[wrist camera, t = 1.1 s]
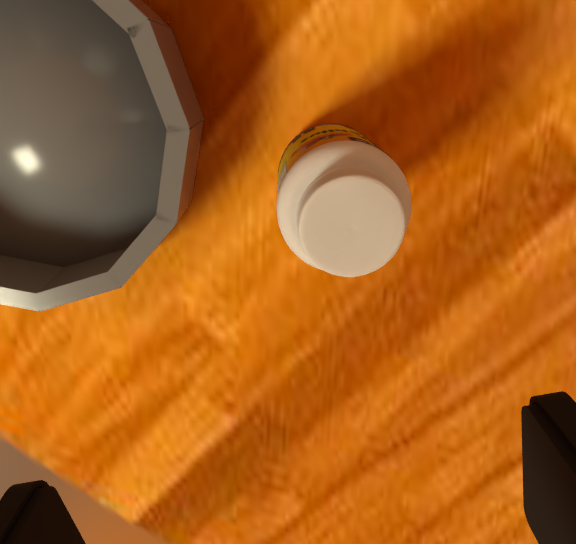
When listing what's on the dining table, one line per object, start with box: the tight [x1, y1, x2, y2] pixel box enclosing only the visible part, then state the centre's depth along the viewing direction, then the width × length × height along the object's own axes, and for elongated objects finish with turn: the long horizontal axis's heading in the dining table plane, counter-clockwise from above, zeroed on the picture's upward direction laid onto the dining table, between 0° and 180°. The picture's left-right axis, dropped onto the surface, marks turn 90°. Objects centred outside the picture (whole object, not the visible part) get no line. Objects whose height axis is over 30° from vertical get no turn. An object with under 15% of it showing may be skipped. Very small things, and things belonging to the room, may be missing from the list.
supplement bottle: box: [277, 123, 411, 277], centre depth 22 cm, size 6×6×10 cm
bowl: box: [0, 0, 204, 311], centre depth 23 cm, size 17×17×4 cm
